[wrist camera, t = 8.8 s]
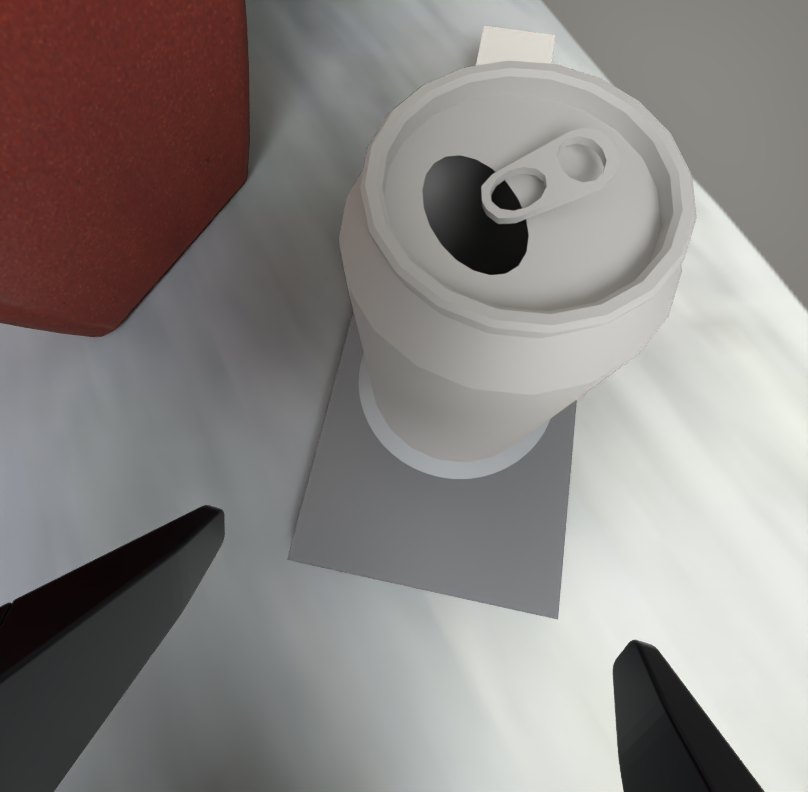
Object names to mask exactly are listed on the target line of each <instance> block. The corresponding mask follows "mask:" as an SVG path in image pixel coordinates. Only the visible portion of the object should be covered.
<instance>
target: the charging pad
mask: <svg viewBox="0 0 808 792" xmlns="http://www.w3.org/2000/svg"><path fill="white" fill-rule="evenodd" d="M554 41H555V35H550V34H543V33H536V32H528V31H521V30H513V29H506V28H498V27H491V26H484V29H483V33H482V38H481V43H480V48H479V52H478V57H477V62H476V66H477V65H483V64H490V63H496V62H502V61H521V62H535V63H548V64H551V63H552V56H553V49H554ZM576 401H577V400H575V401H574V402H572V403H571V404H570V405H568V406H567V407H566V408H564V409H563V410H561V411H560V412H559V413H557V414H556V415H555V416H553V417H552V418H550V419H549V420H548V421H546V422H545V423H544V424H542V425H541V426H539V427H538V428H537V429H535V430H534V431H533V432H531V433H530V434H528V435H527V436H526V437H524V438H523V439H522V440H520V441H519V442H517V443H516V444H514V445H513V446H511V447H509V448H507V449H506V450H504V451H502V452H501V453H499V454H497V455H496V456H494V457H490V458H485V459H481V460H476V461H471V462H466V463H465V462H456V461H446V460H437V459H435V458H433V457H430V456H428V455H426V454H424V453H421V452H419V451H417V450H415V449H413V448H411V447H410V446H408V445H407V444H406V443H405V442H404V441H403V440H402V439H401V438H400V437H398V436H397V435H396V434H395V433H394V432H393V431H392V430H391V429H390V428H389V426H388V424H387V423H386V421H385V419H384V417H383V416H382V414H381V412H380V410H379V409H378V407H377V404H376V400H375V396H374V392H373V388H372V384H371V380H370V376H369V372H368V368H367V364H366V360H365V356H364V351H363V347H362V343H361V339H360V335H359V331H358V327H357V323H356V319H355V315H354V311H353V314H352V317H351V321H350V325H349V329H348V332H347V336H346V340H345V344H344V348H343V351H342V355H341V359H340V363H339V366H338V370H337V374H336V378H335V382H334V385H333V389H332V393H331V397H330V400H329V404H328V408H327V412H326V416H325V419H324V423H323V427H322V431H321V434H320V438H319V442H318V446H317V450H316V453H315V457H314V461H313V465H312V468H311V472H310V476H309V480H308V484H307V487H306V491H305V495H304V499H303V502H302V506H301V510H300V514H299V518H298V521H297V525H296V529H295V533H294V536H293V540H292V544H291V548H290V551H289V555H288V559H287V560H291V561H295V562H300V563H305V564H309V565H314V566H318V567H323V568H327V569H332V570H336V571H341V572H345V573H350V574H354V575H359V576H363V577H368V578H373V579H377V580H382V581H386V582H391V583H395V584H400V585H404V586H409V587H413V588H418V589H422V590H427V591H431V592H436V593H440V594H445V595H450V596H454V597H459V598H463V599H468V600H472V601H477V602H481V603H486V604H490V605H495V606H499V607H504V608H508V609H513V610H517V611H522V612H527V613H531V614H536V615H540V616H545V617H549V618H554V619H558V613H559V601H560V589H561V578H562V566H563V554H564V542H565V531H566V519H567V507H568V495H569V484H570V472H571V460H572V448H573V437H574V425H575V413H576Z"/></svg>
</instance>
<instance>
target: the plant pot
mask: <svg viewBox="0 0 808 792" xmlns="http://www.w3.org/2000/svg"><path fill="white" fill-rule="evenodd" d="M249 145H250V126H249V62H248V39H247V21H246V6H245V0H0V323H4V324H9V325H15V326H20V327H25V328H32V329H38V330H44V331H50V332H56V333H63V334H71V335H81V336H89V337H99V336H104V335H106V334H108V333H110V332H112V331H113V330H114V329H115V328H116V327H117V326H118V325H119V324H120V323H121V322H122V321H123V320H124V318H125V317H126V316H127V315H128V314H129V313H130V312H131V310H132V309H133V308H134V307H135V306H136V305H137V304H138V303H139V301H140V300H141V299H142V298H143V297H144V296H145V295H146V294H147V292H148V291H149V290H150V289H151V288H152V287H153V286H154V284H155V283H156V282H157V281H158V280H159V279H160V278H161V276H162V275H163V274H164V273H165V272H166V271H167V270H168V269H169V267H170V266H171V265H172V264H173V263H174V262H175V261H176V260H177V258H178V257H179V256H180V255H181V254H182V253H183V252H184V250H185V249H186V248H187V247H188V246H189V245H190V244H191V242H192V241H193V240H194V239H195V238H196V237H197V236H198V235H199V234H200V232H201V231H202V230H203V229H204V228H205V227H206V225H207V224H208V223H209V222H210V221H211V220H212V218H213V217H214V216H215V215H216V214H217V213H218V212H219V210H220V209H221V208H222V207H223V206H224V205H225V203H226V202H227V201H228V200H229V199H230V198H231V197H232V196H233V195H234V193H235V192H236V191H237V190H238V189H239V188H240V187H241V185H242V184H243V183H244V182H245V180H246V178H247V173H248V159H249Z"/></svg>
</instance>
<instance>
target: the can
mask: <svg viewBox="0 0 808 792" xmlns="http://www.w3.org/2000/svg"><path fill="white" fill-rule="evenodd" d="M696 218H697V217H696V208H695V199H694V191H693V182H692V174H691V173H690V171H689V169H688V167H687V165H686V163H685V161H684V159H683V157H682V155H681V153H680V151H679V149H678V147H677V145H676V143H675V141H674V140H673V137H672V135H671V134H670V132H669V131H668V130H667V129H666V128H665V127H664V126H663V125H662V124H661V123H660V122H659V121H658V120H657V119H656V118H655V117H654V116H653V115H652V114H651V113H650V112H649V111H648V110H647V109H646V108H645V107H644V106H643V105H642V104H641V103H640V102H639V101H637V100H636V99H635V98H633V97H631V96H629V95H628V94H626V93H624V92H623V91H621V90H619V89H617V88H616V87H614V86H612V85H611V84H609V83H607V82H606V81H604V80H602V79H600V78H599V77H595V76H592V75H589V74H586V73H582V72H579V71H576V70H573V69H569V68H566V67H563V66H559V65H556V64H548V63H535V62H521V61H502V62H496V63H490V64H483V65H477V66H470V67H464V68H462V69H459V70H457V71H455V72H452V73H450V74H448V75H445V76H443V77H441V78H438V79H436V80H434V81H431V82H429V83H427V84H424V85H422V86H421V87H419V88H418V89H417V90H416V91H415V92H413V93H412V94H411V95H410V96H409V97H407V98H406V99H405V100H404V101H403V102H401V103H400V104H399V105H398V106H397V107H395V108H394V109H393V110H392V111H391V112H389V113H388V115H387V116H386V118H385V120H384V121H383V123H382V125H381V126H380V128H379V130H378V131H377V133H376V134H375V136H374V138H373V139H372V141H371V143H370V144H369V146H368V148H367V152H366V158H365V163H364V168H363V170H362V172H361V173H360V175H359V177H358V178H357V180H356V182H355V183H354V185H353V187H352V188H351V190H350V192H349V193H348V195H347V197H346V202H345V208H344V213H343V219H342V224H341V230H340V235H339V245H340V250H341V256H342V261H343V266H344V271H345V277H346V282H347V287H348V291H349V295H350V299H351V303H352V307H353V311H354V315H355V319H356V323H357V327H358V331H359V335H360V339H361V343H362V347H363V351H364V356H365V360H366V364H367V368H368V372H369V376H370V380H371V384H372V388H373V392H374V396H375V400H376V404H377V407H378V409H379V410H380V412H381V414H382V416H383V417H384V419H385V421H386V423H387V424H388V426H389V428H390V429H391V430H392V431H393V432H394V433H395V434H396V435H397V436H398V437H400V438H401V439H402V440H403V441H404V442H405V443H406V444H407V445H408V446H410V447H411V448H413V449H415V450H417V451H419V452H421V453H424V454H426V455H428V456H430V457H433V458H435V459H437V460H446V461H456V462H465V463H466V462H471V461H476V460H481V459H485V458H490V457H494V456H496V455H497V454H499V453H501V452H502V451H504V450H506V449H507V448H509V447H511V446H513V445H514V444H516V443H517V442H519V441H520V440H522V439H523V438H524V437H526V436H527V435H528V434H530V433H531V432H533V431H534V430H535V429H537V428H538V427H539V426H541V425H542V424H544V423H545V422H546V421H548V420H549V419H550V418H552V417H553V416H555V415H556V414H557V413H559V412H560V411H561V410H563V409H564V408H566V407H567V406H568V405H570V404H571V403H572V402H574V401H575V400H577V399H578V398H579V397H581V396H582V395H583V394H585V393H586V392H588V391H589V390H590V389H592V388H593V387H594V386H596V385H597V384H599V383H600V382H601V381H603V380H604V379H605V378H607V377H608V376H610V375H611V374H612V373H614V372H615V371H616V370H618V369H619V368H621V367H622V366H623V365H625V364H626V363H627V362H629V361H630V360H632V359H633V358H634V357H636V356H637V355H638V354H639V352H640V351H641V350H642V349H643V347H644V346H645V345H646V344H647V342H648V341H649V340H650V339H651V337H652V336H653V335H654V334H655V332H656V331H657V330H658V329H659V327H660V326H661V325H662V324H663V323H664V321H665V320H666V319H667V318H668V316H669V313H670V309H671V306H672V303H673V299H674V296H675V292H676V289H677V286H678V282H679V279H680V276H681V272H682V268H681V263H682V262H683V261H684V259H685V255H686V252H687V249H688V245H689V242H690V238H691V235H692V232H693V228H694V225H695V222H696Z"/></svg>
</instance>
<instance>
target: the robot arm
mask: <svg viewBox="0 0 808 792" xmlns="http://www.w3.org/2000/svg"><path fill="white" fill-rule="evenodd" d="M224 535H225V527H224V512H223V510H222V509H219V508H216V507H213V506H210V505H205V506H202V507H199V508H197V509H195V510H193V511H191V512H189V513H187V514H185V515H183V516H181V517H179V518H177V519H175V520H173V521H171V522H169V523H167V524H165V525H163V526H161V527H159V528H157V529H155V530H153V531H151V532H149V533H147V534H145V535H143V536H141V537H139V538H137V539H135V540H133V541H131V542H129V543H127V544H125V545H123V546H121V547H119V548H117V549H115V550H113V551H111V552H109V553H107V554H105V555H103V556H101V557H99V558H97V559H95V560H93V561H91V562H89V563H87V564H85V565H83V566H81V567H79V568H77V569H75V570H73V571H71V572H69V573H67V574H65V575H63V576H61V577H59V578H57V579H55V580H53V581H51V582H49V583H47V584H45V585H43V586H41V587H39V588H37V589H35V590H33V591H31V592H29V593H27V594H25V595H23V596H21V597H19V598H17V599H15V600H14V601H13V603H7V604H5V605H3V606H1V607H0V792H54V790H55V789H56V788H57V786H58V785H59V783H60V782H61V781H62V779H63V778H64V777H65V775H66V774H67V772H68V771H69V770H70V768H71V767H72V765H73V764H74V763H75V761H76V760H77V758H78V757H79V756H80V754H81V753H82V751H83V750H84V749H85V747H86V746H87V744H88V743H89V742H90V740H91V739H92V738H93V736H94V735H95V733H96V732H97V731H98V729H99V728H100V726H101V725H102V724H103V722H104V721H105V719H106V718H107V717H108V715H109V714H110V712H111V711H112V710H113V708H114V707H115V705H116V704H117V703H118V701H119V700H120V699H121V697H122V696H123V694H124V693H125V692H126V690H127V689H128V687H129V686H130V685H131V683H132V682H133V680H134V679H135V678H136V676H137V675H138V673H139V672H140V671H141V669H142V668H143V666H144V665H145V664H146V662H147V661H148V660H149V658H150V657H151V655H152V654H153V653H154V651H155V650H156V648H157V647H158V646H159V644H160V643H161V641H162V640H163V639H164V637H165V636H166V634H167V633H168V632H169V630H170V629H171V627H172V626H173V625H174V623H175V622H176V620H177V619H178V618H179V616H180V615H181V613H182V612H183V610H184V609H185V607H186V605H187V604H188V602H189V600H190V599H191V597H192V595H193V594H194V592H195V590H196V588H197V587H198V585H199V583H200V581H201V580H202V578H203V576H204V575H205V573H206V571H207V569H208V568H209V566H210V564H211V562H212V561H213V559H214V557H215V556H216V554H217V552H218V550H219V549H220V547H221V545H222V543H223V540H224ZM613 685H614V701H615V716H616V731H617V746H618V757H619V764H620V772H621V778H622V784H623V791H624V792H764V790H763V789H762V788H761V786H760V785H759V784H758V782H757V781H756V780H755V778H754V777H753V776H752V774H751V773H750V772H749V770H748V769H747V768H746V766H745V765H744V764H743V762H742V761H741V760H740V758H739V757H738V756H737V754H736V753H735V752H734V750H733V749H732V748H731V746H730V745H729V744H728V742H727V741H726V740H725V738H724V737H723V736H722V734H721V733H720V732H719V730H718V729H717V728H716V726H715V725H714V724H713V722H712V721H711V720H710V718H709V717H708V716H707V714H706V713H705V712H704V710H703V709H702V708H701V706H700V705H699V704H698V702H697V701H696V700H695V698H694V697H693V696H692V694H691V693H690V692H689V690H688V689H687V688H686V686H685V685H684V684H683V682H682V681H681V680H680V678H679V677H678V676H677V674H676V673H675V672H674V670H673V669H672V668H671V666H670V665H669V664H668V662H667V661H666V660H665V658H664V657H663V656H662V654H661V653H660V652H659V650H658V649H657V648H656V647H654V646H653V645H651V644H648V643H645V642H641V641H638V640H632V641H630V642H629V643H628V645H627V646H626V647H625V648H624V650H623V651H622V652H621V654H620V655H619V656H618V657H617V659H616V660H615V662H614V665H613Z"/></svg>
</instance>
